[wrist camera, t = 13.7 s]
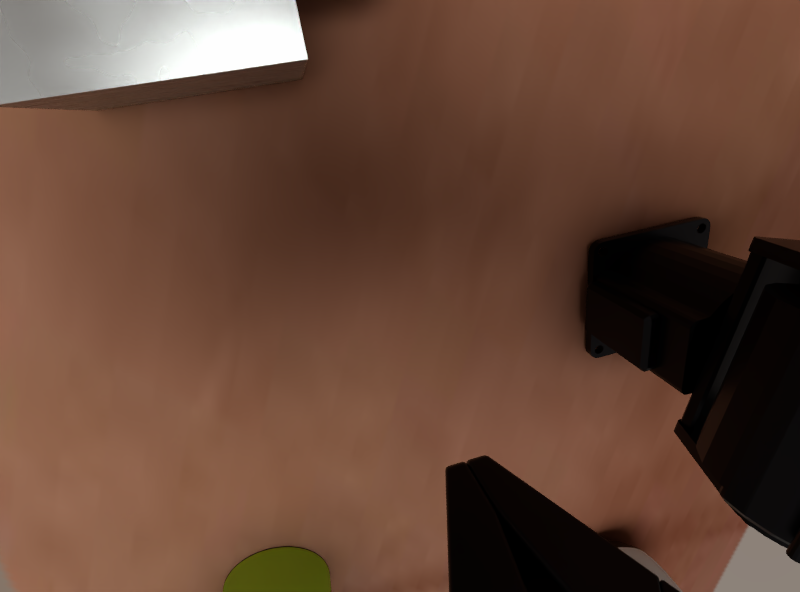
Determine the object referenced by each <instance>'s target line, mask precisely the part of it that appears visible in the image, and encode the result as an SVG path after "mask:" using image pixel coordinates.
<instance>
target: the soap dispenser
mask: <svg viewBox="0 0 800 592" xmlns="http://www.w3.org/2000/svg"><path fill="white" fill-rule="evenodd" d="M223 592H331V584H330V573H329V569H328V566H327V564H326V563H325V561H324V560H323V559H322V558H321V557H320V556H318V555H317V554H315V553H313V552H311V551H309V550H306V549H302V548H295V547H280V548H273V549H269V550H265V551H262V552H259V553H256V554H254V555H252V556H250V557H248V558H247V559H245V560H243V561H242V562H241V563H239V564H238V565H237V566H236V567H235V568H234V569H233V570H232V571H231V572H230V574H229V575H228V577H227V579H226V581H225V583H224V587H223Z"/></svg>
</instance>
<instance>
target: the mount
mask: <svg viewBox="0 0 800 592" xmlns="http://www.w3.org/2000/svg"><path fill="white" fill-rule="evenodd" d="M307 60H308V57H307V52H306V48H305V43H304V38H303V33H302V29H301V24H300V19H299V14H298V10H297V5H296V0H0V107H12V108H38V109H64V110H90V111H99V110H105V109H112V108H118V107H125V106H131V105H138V104H144V103H151V102H157V101H164V100H170V99H177V98H183V97H190V96H196V95H203V94H209V93H216V92H222V91H229V90H235V89H242V88H248V87H255V86H261V85H268V84H274V83H281V82H287V81H294V80H300V79H302V77H303V74H304V71H305V67H306V64H307Z"/></svg>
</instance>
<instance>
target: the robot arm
mask: <svg viewBox="0 0 800 592" xmlns="http://www.w3.org/2000/svg"><path fill="white" fill-rule="evenodd" d="M698 226H699V228H698ZM709 232H710V222H709V220H708V219H706V218H701V217H694V218H690V219H686V220H681V221H677V222H673V223H668V224H664V225H660V226H655V227H651V228H647V229H643V230H638V231H634V232H630V233H625V234H621V235H617V236H613V237H608V238H604V239H600V240H597V241H595V242H593V243H592V244H591V246H590V248H589V256H588V287H587V296H586V351H587V352H588V353H589V354H590V355H591V356H593V357H595V358H599V357H603V356H606V355H610V354H613V353H618V354H619V355H621V356H622V357H624V358H625V359H626V360H628V361H629V362H631V363H632V364H633V365H635V366H636V367H638V368H639V369H640V370H642V371H644V372H645V371H648V370H650V371H651V372H653V373H654V374H656V375H657V376H658V377H660V378H661V379H663V380H664V381H665V382H667V383H668V384H670V385H671V386H673V387H674V388H675V389H677V390H678V391H680V392H681V393H683V394H684V395H686V394H690V393H692V395H691V397H690V400H689V402H688V405H687V407H686V409H685V412H684V414H683V417H682V419H680V420H678V422H677V424H676V427H675V429H674V432H675V434H676V435H677V436H678V438H679V439H680V440H681V442H682V443H683V444H684V446H685V447H686V448H687V450H688V451H689V452H690V454H691V455H692V457H693V458H694V459H695V461H696V462H697V463H698V465H699V466H700V467H701V469H702V470H703V471H704V473H705V474H706V475H707V477H708V478H709V479H710V481H711V482H712V483H713V485H714V486H715V487H716V489H717V490H718V492H719V493H720V495H721V496H722V498H723V499H724V501H725V502H726V503H727V504H728V505H729V506H730V507H731V508H732V509H733V510H734V512H735V513H736V514H737V515H738V516H740V517H741V518H742V520H743V521H744V522H745V523H746V524H748V525H749V526H751V527H753V528H754V529H756V530H757V531H758V532H760V533H761V534H763V535H764V536H766V537H768V538H769V539H771V540H773V541H774V542H776V543H778V544H780V545H781V546H784V547H786V548H788V549H787V550H786V554H787V555H788V556H789V557H790V558H791V559H792V560H794V561H795V562H798V563H800V240H790V239H778V238H766V237H754V238H753V240H752V243H751V245H750V248H749V250H748V251H750V252H751V253H750V255H749V258H748V260H747V261H745V260H742V259H739V258H736V257H733V256H729V255H726V254H723V253H720V252H717V251H713V250H710V249H707V246H708V239H709ZM600 248H603V249H602V252H601V253H600V254H598V252H599V250H600ZM597 346H598V348H597V349H595V348H596V347H597ZM445 473H446V505H447V538H448V570H449V592H680V591H678V590H677V589H676V588H674V587H673V586H671V585H670V584H669V583H667V582H666V581H664V580H660V581H659V578H658V576H657V575H656V574H654V573H653V572H651V571H650V570H648V569H647V568H646V567H644V566H643V565H641V564H640V563H639V562H637V561H636V560H634V559H633V558H631V557H630V556H629V555H627V554H626V553H624V552H623V551H622V550H620V549H619V548H617V547H616V546H614V545H613V544H612V543H610V542H609V541H607V540H606V539H605V538H603V537H602V536H600V535H599V534H597V533H596V532H595V531H593V530H592V529H590V528H589V527H588V526H586V525H585V524H583V523H582V522H580V521H579V520H578V519H576V518H575V517H573V516H572V515H571V514H569V513H568V512H566V511H565V510H563V509H562V508H561V507H559V506H558V505H556V504H555V503H554V502H552V501H551V500H549V499H548V498H546V497H545V496H544V495H542V494H541V493H539V492H538V491H537V490H535V489H534V488H532V487H531V486H530V485H528V484H527V483H525V482H524V481H522V480H521V479H520V478H518V477H517V476H515V475H514V474H513V473H511V472H510V471H508V470H507V469H505V468H504V467H503V466H501V465H500V464H498V463H497V462H496V461H494V460H493V459H491V458H490V457H488V456H485V455H484V456H480V457H477V458H473V459H470V460H468V461H467V463H465V462H460V463H457V464H454V465H450V466H448V467H446V471H445Z"/></svg>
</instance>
